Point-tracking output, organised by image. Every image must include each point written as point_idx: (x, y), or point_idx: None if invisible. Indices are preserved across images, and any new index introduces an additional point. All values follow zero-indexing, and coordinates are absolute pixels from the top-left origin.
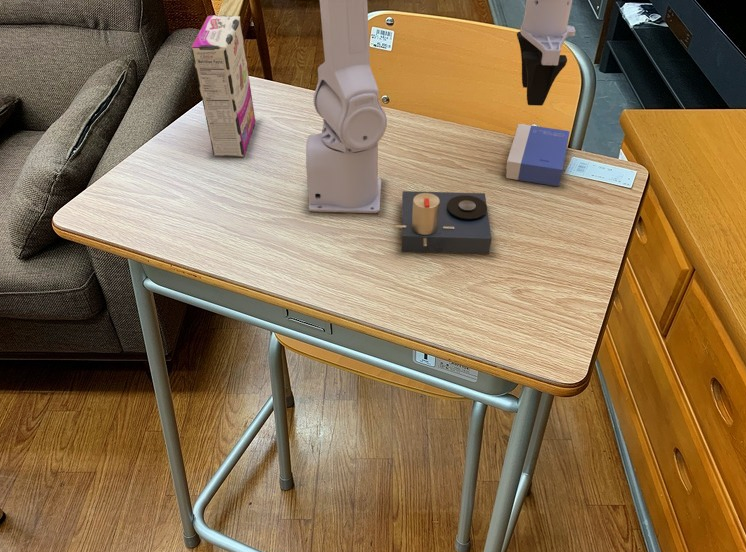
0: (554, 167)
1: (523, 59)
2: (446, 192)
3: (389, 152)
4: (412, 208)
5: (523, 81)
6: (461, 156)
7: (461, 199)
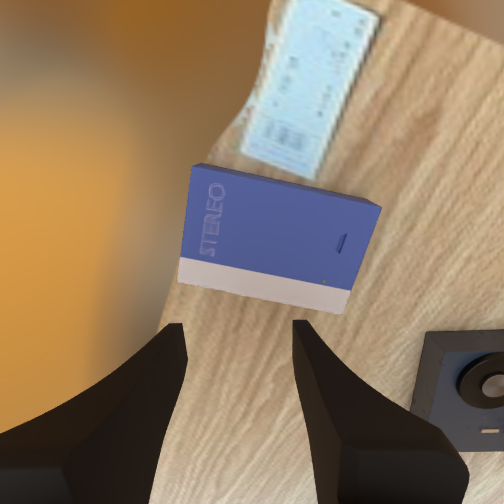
0: (371, 224)
1: (158, 454)
2: (434, 403)
3: (258, 442)
4: (470, 442)
5: (184, 376)
6: (260, 355)
7: (473, 391)
